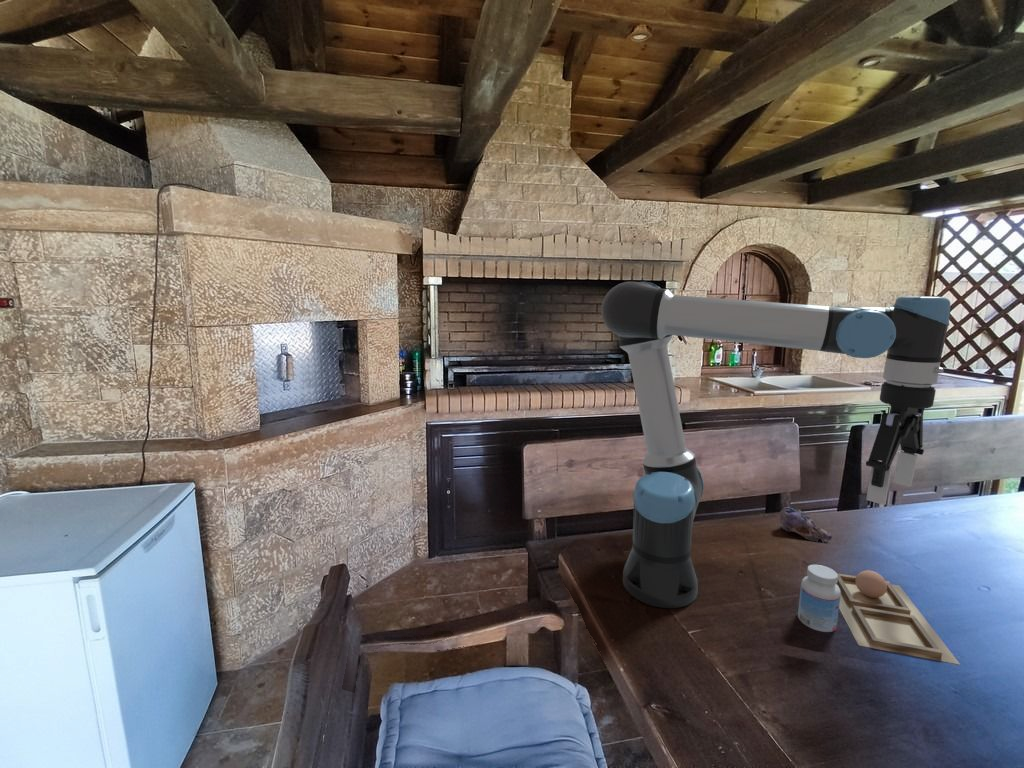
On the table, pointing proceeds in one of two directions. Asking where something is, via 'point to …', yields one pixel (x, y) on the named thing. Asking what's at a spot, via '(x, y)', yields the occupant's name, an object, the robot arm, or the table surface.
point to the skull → (802, 525)
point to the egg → (871, 584)
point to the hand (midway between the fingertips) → (889, 493)
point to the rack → (889, 622)
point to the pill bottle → (819, 599)
